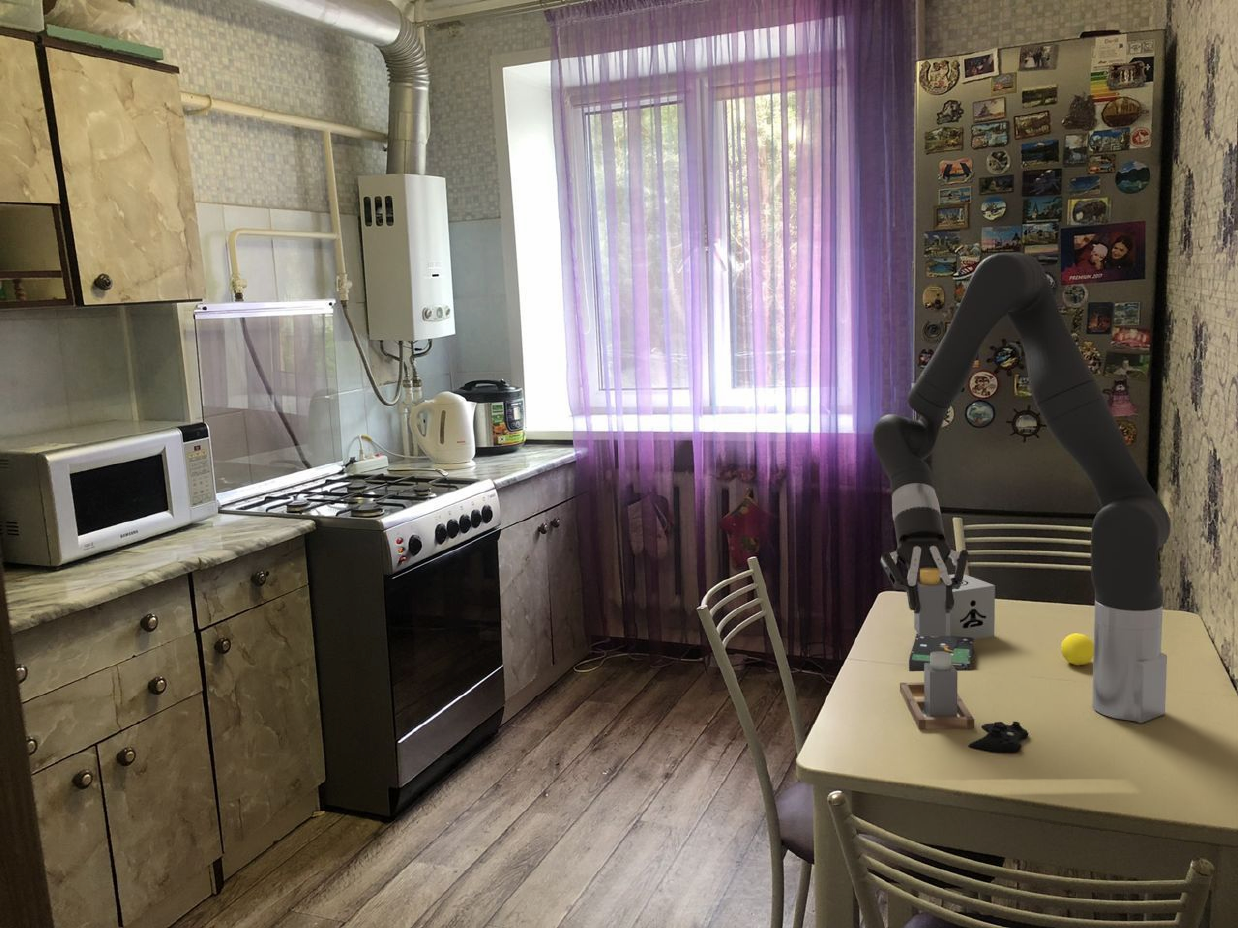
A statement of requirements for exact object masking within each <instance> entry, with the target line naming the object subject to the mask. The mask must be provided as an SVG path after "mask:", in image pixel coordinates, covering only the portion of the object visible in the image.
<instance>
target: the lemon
mask: <svg viewBox="0 0 1238 928" xmlns="http://www.w3.org/2000/svg"><path fill="white" fill-rule="evenodd" d="M1060 652H1061V654H1062V657H1063V658H1064V659H1065V660H1066V661H1067V662H1068V663H1069V664H1072V665H1075V666H1081V665H1083V666H1084V665H1087V664H1088V663H1090V662H1091V661H1092V660H1093V656H1094V641H1093V640H1092V639H1091V638H1090V637H1088V636H1087V635H1085V634H1083V633H1077V632H1076V633H1071V634H1069V635H1067V636H1066V637H1065V638H1064V639H1063V640H1062V642H1061V645H1060Z"/></svg>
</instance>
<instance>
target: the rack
mask: <svg viewBox="0 0 1238 928" xmlns="http://www.w3.org/2000/svg"><path fill="white" fill-rule="evenodd" d="M899 692H900V694H901V696H902V698H903V700H904V702H905V705H906V706H907V708H908V710H909V712H910V715H911V716H912V719H913V721H914V723H915V725H916V726H917V728H918V730H972V729H975V718H974V717H973V715H972V713H971V712H970V710H969V709H968V707H967V706H966V704H965V703H964V701H963V699H962V698H961V696H960V694H959V693H958V692H957V717H926V715H925V713H924V681H923V682H918V681H917V682H915V681H914V682H899Z"/></svg>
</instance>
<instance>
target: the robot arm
mask: <svg viewBox="0 0 1238 928" xmlns="http://www.w3.org/2000/svg"><path fill="white" fill-rule="evenodd" d="M1047 275H1048V274H1047V273H1046V270H1045V269H1044V267H1043V266H1042V264H1041V263H1040V262H1039V261H1038V260H1037V259H1036V258H1035V257H1033V256H1032V255H1029V254H1028V253H1024V252H1023V253H1022V252H1000V253H999V252H998V253H994V254H991V255H989V256H987V257H985V258H984V259H983V260H981V261H980V263H979V264H978V265H977V266H976V268H975V269H974V271H973V273H972V276H971V277H970V279H969V282H968V285H967V286H966V289H965V291H964V293H963V296H962V298H961V301H960V303H959V305H958V307H957V309H956V311H955V314H954V315H953V318H952V319H951V322H950V323H949V326H948V328H947V331H946V332H945V333H944V336H943V337H942V339H941V341H940V343H939V344H938V347H936V350H935V352H934V353H933V354H932V356H931V358H930V359H929V361H928V363H927V364H926V366H925V367H924V369H923V370H922V372H921V373H920V375H919V376H918V378H917V380H915V383H914V384H913V386H912V388H911V389H910V391H909V393H908V395H907V403H908V405H909V407H910V408H911V409H912V410H913V411H914V412H916V414H918V415H920V417H919V418H918V420H915V419H912V418H909V417H905V416H903V415H899V414H896V413H895V414H894V413H889V414H885V415H883V416H881V418H879V420H877V422H876V424H875V426H874V428H873V432H872V442H873V447H874V450H875V453H876V455H877V457H878V459H879V461H880V464H881V465H882V467H883V470H884V472H885V474H886V476H887V477H888V480H889V486H890V495H891V509H892V520H893V524H894V529H895V530H894V531H895V537H896V543H897V547H896V550H895V551H892V552H889V551H883V552H882V554H881V558H880V564H881V567H882V568H883V570H884V572H885V573H886V575H887V578H888V579H889V581H890V582H891V584H892V586H893V588H894V589H895V590H897V591H900V590H902V591H904V592H905V593H906V596H907V603H908V608H909V609H910V611H913V613H914V614H918V613H919V611H920V609H921V606H920V601H919V596H918V589H917V587H916V585H915V584H916V579H918V575H920V569H922V568H937V569H939V570H940V579H941V580H942V582H943V583H944V584H945V585H946V613H950V610H952V608H953V606H954V597H953V592H952V589H959V588H960V586H961V582H962V581H963V577H964V574H965V572H966V567H967V566H966V565H967V561H968V556H969V552H968V550H966V549H962V550H961V551H956V550H953V549H951V547H950V545H948V542H947V539H946V536H945V535H946V534H945V530H944V525H943V519H942V518H943V517H942V513H941V508H940V503H939V500H938V497H937V493H936V490H935V484H934V479H933V473H932V469H931V467H930V465H929V464H928V463H927V462H926V461H924V460H925V459H926V460H927V458H928V457H929V456H930V455H931V454H932V453H933V452H934V450H935V447H936V445H937V442H938V439H939V436H940V432H941V429H942V426H943V424H944V421H945V418H946V415H947V412H948V410H949V409H950V408H951V407H952V405H953V403H955V401H956V399H957V398H958V397H959V395H960V393H961V392H962V390H963V388H964V387H965V386H966V384H967V382H968V380H969V378H970V376H971V373H972V371H973V369H974V365H975V362H976V359H977V356H978V353H979V352H980V350H981V348H982V345H983V343H984V341H985V340H986V338H987V337H988V335H989V334H990V332H992V329H994V327H995V326H996V325H997V324H998V322H999V321H1001V319H1002V318H1003V317H1004V316H1005V315H1006V316H1007V318H1008V319H1009V322H1011V323H1010V324H1012V327H1013V328H1014V330H1015V332H1016V334H1017V336H1018V338H1019V340H1020V342H1021V345H1022V348H1023V351H1024V355H1025V356H1024V357H1025V362H1026V370H1027V378H1028V383H1029V389H1030V392H1031V395H1032V398H1033V401H1034V403H1035V406H1036V407H1037V409H1038V411H1039V413H1040V416H1041V418H1042V420H1043V421H1044V423H1045V425H1046V427H1047V429H1048V431H1049V432H1050V434H1051V436H1052V437H1053V439H1054V440H1055V441H1056V442H1057V443H1058V445H1060V447H1061V448H1062V449H1063V450H1064V451H1065V452H1066V454H1067V455H1069V456H1070V458H1071V459H1073V461H1074V462H1075V463H1076V464H1077V466H1079V467H1080V469H1081V470H1082V471H1083V473H1085V475H1086V477H1087V478H1088V480H1089V481H1090V484H1091V485H1092V488H1093V490H1094V492H1095V494H1096V496H1097V498H1098V501H1099V504H1100V506H1101V509H1100V510H1099V511H1098V512H1097V513H1096V515H1095V516H1094V519H1093V521H1092V526H1091V530H1090V531H1091V534H1090V565H1091V566H1090V572H1091V573H1090V574H1091V575H1090V577H1091V582H1092V586H1093V588H1094V622H1093V623H1094V624H1093V625H1094V626H1093V628H1094V629H1093V644H1094V655H1093V658H1092V660H1093V661H1092V663H1093V664H1092V697H1091V698H1092V702H1091V703H1092V705H1091V706H1092V708H1093V709H1094V710H1095V711H1096V712H1098V713H1099V714H1101V715H1103V716H1107V717H1110V718H1113V719H1117V720H1122V721H1123V720H1124V721H1132V722H1136V723H1139V724H1143V723H1145V722H1148V721H1150V720H1153V719H1155V718H1158V717H1161V716H1164V715H1165V714H1166V697H1167V696H1166V694H1167V673H1168V672H1167V671H1168V670H1167V669H1168V668H1167V667H1168V656H1167V654H1166V653H1163V652H1162V636H1163V635H1162V634H1163V609H1164V607H1163V605H1164V589H1163V587H1162V585H1161V584H1160V583H1159V575H1158V566H1159V565H1158V563H1159V560H1158V559H1159V557H1158V555H1159V549H1161V548H1162V547H1163V546H1164V545H1165V544H1166V542H1167V541H1168V539H1169V536H1170V533H1171V518H1170V515H1169V513H1168V511H1167V508H1166V507H1165V505H1164V504H1163V503H1162V501H1161V500H1160V498H1159V496H1158V495H1157V493H1156V491H1154V489H1153V487H1152V486H1151V485H1150V482H1149V481H1148V480H1147V478H1146V477H1145V475H1144V474H1143V472H1142V470H1141V469H1140V467H1139V466H1138V464H1137V462H1136V461H1135V459H1134V457H1133V455H1132V453H1131V451H1130V449H1129V446H1128V444H1127V442H1126V439H1125V437H1124V435H1123V433H1122V430H1121V428H1120V427H1119V425H1118V422H1117V420H1116V418H1115V416H1114V415H1113V413H1112V410H1111V408H1110V406H1109V403H1108V401H1107V399H1106V397H1105V395H1104V393H1103V391H1102V389H1101V387H1100V386H1099V383H1098V381H1097V380H1096V377H1095V376H1094V374H1093V372H1092V371H1091V368H1090V367H1089V365H1088V364H1087V361H1086V360H1085V357H1084V356H1083V354H1082V351H1081V349H1080V347H1079V346H1078V344H1077V343H1076V340H1075V339H1074V337H1073V335H1072V334H1071V332H1070V330H1069V328H1068V326H1067V325H1066V322H1065V319H1064V318H1063V315H1062V313H1061V310H1060V308H1059V305H1058V302H1057V300H1056V296H1055V295H1054V292H1053V289H1052V286H1051V284H1050V283H1051V282H1050V281H1049V277H1048V276H1047ZM897 559H898V560H897ZM949 559H951V563H952V564H953V565H954V566H955V572H954V574H955V575H954V578H951V579H950V577H949V575H950V574H948V569H947V566H946V562H947V561H948V560H949ZM898 561H899V562H900V563H902V564H903V565H904V566H905V568H906V569H908V572H907V578H904V577H903V575H902V573H901V572H900V571H901V570H899V567H898V566H897V562H898ZM914 614H913V615H914Z"/></svg>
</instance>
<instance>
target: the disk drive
mask: <svg viewBox="0 0 1238 928" xmlns="http://www.w3.org/2000/svg"><path fill="white" fill-rule="evenodd" d="M974 642H975V641H974V638H970V637H954V636H939V637H935V636H919V635H918V633H916V635H915V639H914V642H913V646H912V649H911V650H910V651H911V652H910V655H909V659H908V671H909V672H924V663H930V653H932V652H935V651H943V652H947V653H950V654H951V663H952V665H953V666H954V668H955V669H956V671H957V672H959V671H964V672H967V671H971V670H972V663H973V655H974V651H975V650H974Z"/></svg>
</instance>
